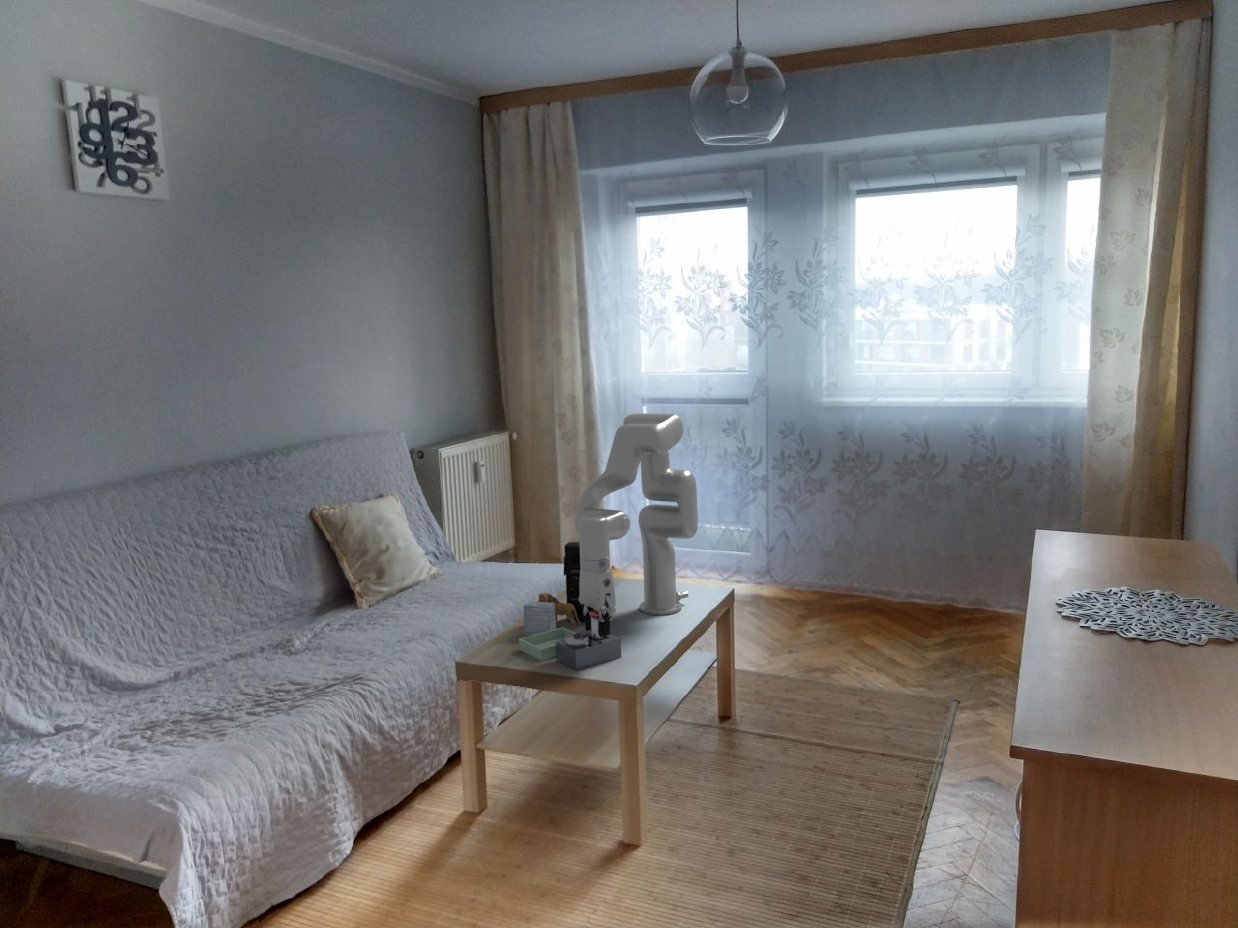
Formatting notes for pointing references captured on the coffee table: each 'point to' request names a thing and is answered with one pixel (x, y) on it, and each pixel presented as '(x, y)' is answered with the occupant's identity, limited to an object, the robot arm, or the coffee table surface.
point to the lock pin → (595, 624)
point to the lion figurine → (561, 608)
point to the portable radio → (573, 578)
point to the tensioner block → (587, 650)
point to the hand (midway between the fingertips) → (597, 631)
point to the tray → (543, 643)
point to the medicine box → (539, 617)
